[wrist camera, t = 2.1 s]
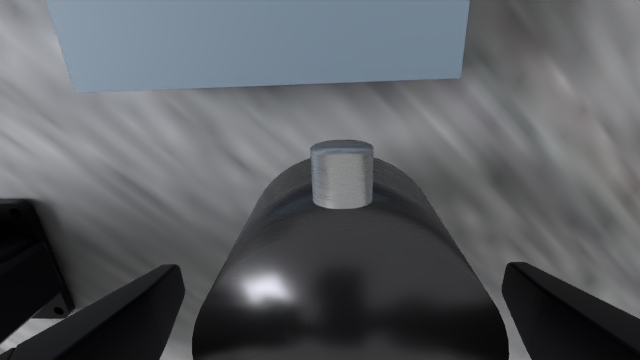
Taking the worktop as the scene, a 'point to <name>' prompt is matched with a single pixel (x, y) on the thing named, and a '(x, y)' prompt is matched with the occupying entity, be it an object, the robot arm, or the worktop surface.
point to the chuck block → (256, 42)
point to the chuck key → (347, 273)
